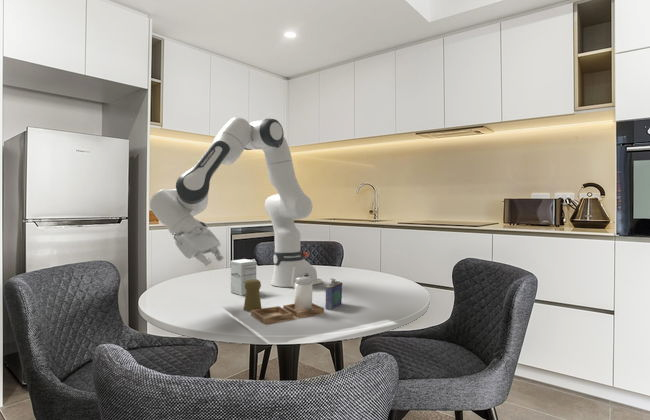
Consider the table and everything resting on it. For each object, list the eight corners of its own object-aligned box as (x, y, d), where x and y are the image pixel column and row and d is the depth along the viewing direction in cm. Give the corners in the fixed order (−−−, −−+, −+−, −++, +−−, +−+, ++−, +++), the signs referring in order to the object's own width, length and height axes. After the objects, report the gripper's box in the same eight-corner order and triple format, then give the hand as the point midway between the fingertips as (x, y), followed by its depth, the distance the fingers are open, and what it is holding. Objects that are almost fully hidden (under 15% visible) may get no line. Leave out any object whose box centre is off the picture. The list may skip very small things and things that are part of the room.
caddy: (307, 309, 134) (307, 300, 134) (325, 318, 125) (325, 308, 125) (249, 319, 123) (249, 309, 123) (265, 329, 114) (265, 319, 113)
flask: (330, 314, 128) (330, 281, 128) (322, 313, 130) (322, 280, 129) (343, 308, 136) (343, 276, 136) (335, 306, 138) (335, 275, 137)
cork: (265, 312, 131) (265, 278, 130) (255, 317, 125) (255, 282, 125) (250, 310, 133) (250, 277, 133) (239, 314, 128) (239, 280, 127)
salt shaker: (306, 307, 130) (306, 275, 130) (315, 312, 126) (315, 278, 125) (291, 310, 127) (291, 277, 127) (300, 314, 123) (300, 280, 122)
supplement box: (230, 292, 157) (230, 260, 156) (245, 289, 162) (245, 258, 162) (241, 296, 152) (241, 262, 151) (256, 292, 157) (257, 260, 157)
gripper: (177, 226, 121) (208, 260, 120) (207, 222, 141) (233, 251, 140) (163, 240, 122) (193, 274, 121) (195, 235, 142) (221, 263, 141)
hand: (215, 261), depth 130 cm, fingers open, 8 cm apart
